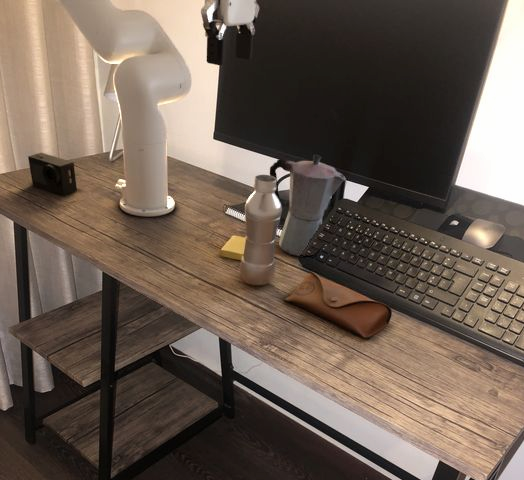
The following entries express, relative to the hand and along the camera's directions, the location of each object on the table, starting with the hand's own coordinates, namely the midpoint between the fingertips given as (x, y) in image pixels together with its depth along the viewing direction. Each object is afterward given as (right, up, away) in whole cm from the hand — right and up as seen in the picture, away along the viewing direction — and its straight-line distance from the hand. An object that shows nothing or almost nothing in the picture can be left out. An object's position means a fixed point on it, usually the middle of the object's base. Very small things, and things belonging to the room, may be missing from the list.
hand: (229, 61), depth 101 cm
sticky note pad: (+2, -32, +15) cm, 35 cm away
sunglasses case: (+19, -46, -1) cm, 50 cm away
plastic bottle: (+5, -40, +5) cm, 40 cm away
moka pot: (+13, -31, +18) cm, 38 cm away
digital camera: (-45, -14, +33) cm, 58 cm away
